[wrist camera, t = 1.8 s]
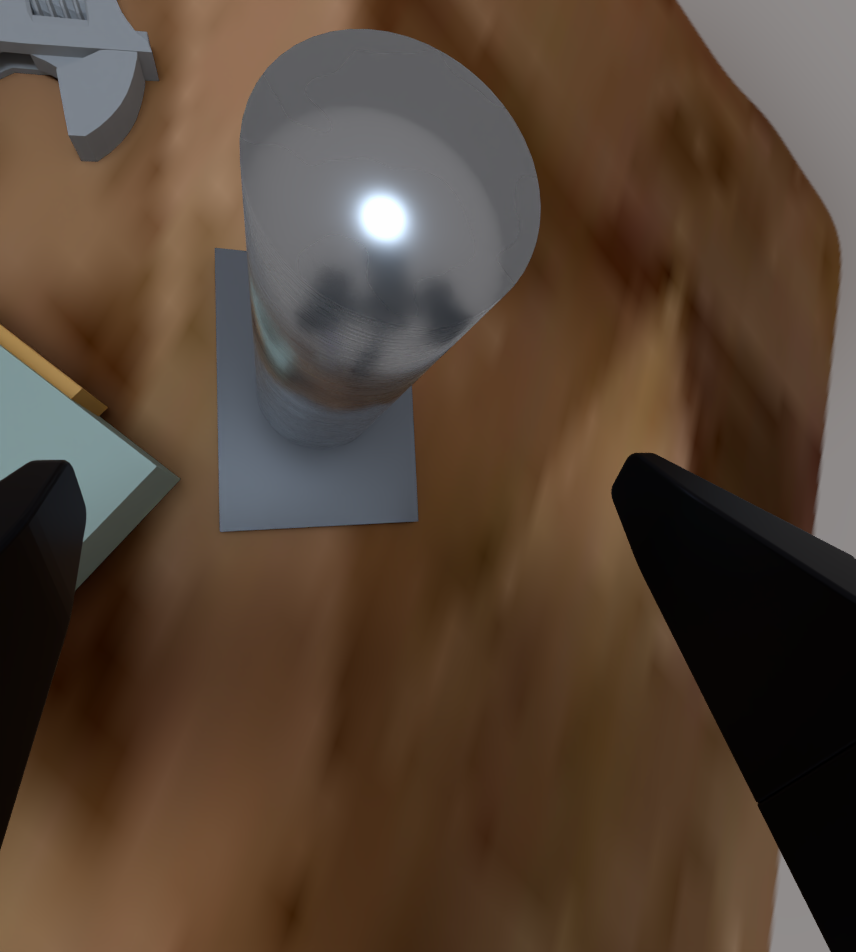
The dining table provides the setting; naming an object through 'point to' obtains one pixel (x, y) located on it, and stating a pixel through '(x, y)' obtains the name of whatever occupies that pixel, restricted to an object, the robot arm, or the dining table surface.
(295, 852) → the dining table surface
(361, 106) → the metal barrel peg
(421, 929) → the dining table surface
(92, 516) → the socket block
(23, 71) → the adjustable wrench
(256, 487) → the pad
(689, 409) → the dining table surface
